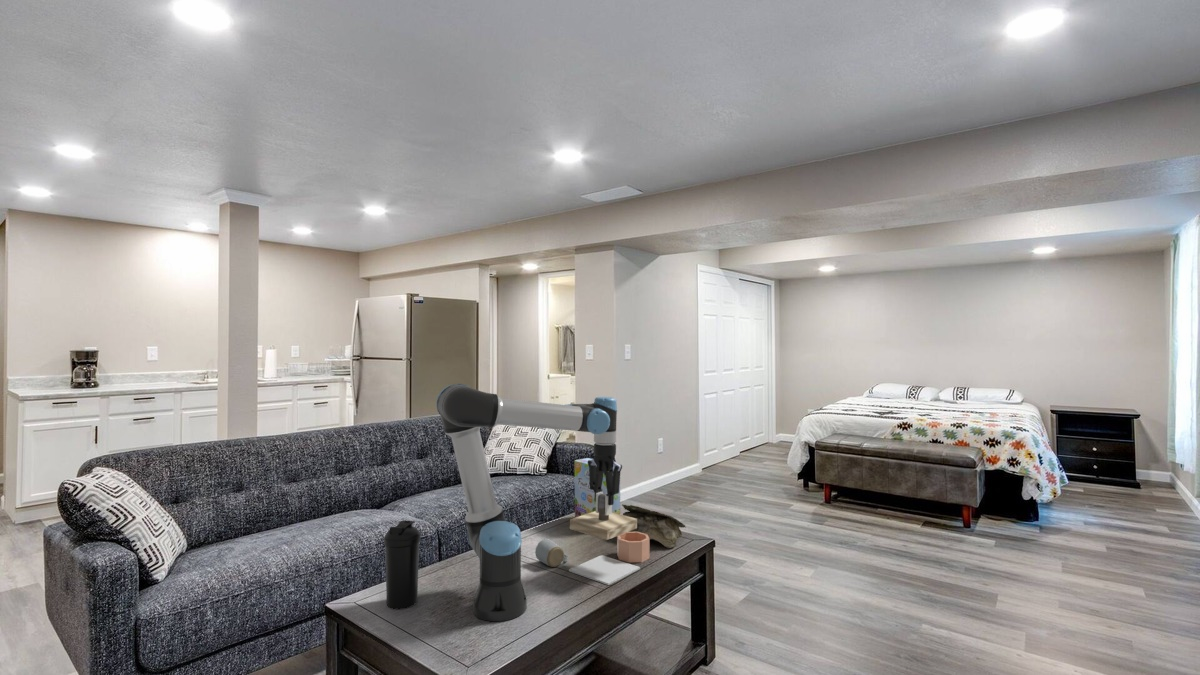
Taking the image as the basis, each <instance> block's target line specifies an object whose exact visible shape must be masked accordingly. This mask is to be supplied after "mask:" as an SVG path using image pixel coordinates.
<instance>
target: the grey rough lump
mask: <svg viewBox="0 0 1200 675" xmlns="http://www.w3.org/2000/svg"><path fill="white" fill-rule="evenodd" d="M621 506H622V507H623V509H624V510H626V511H625V512H623V513H622V515H624V516H628V517H632V518H636V519H637V528H636V529H634V530H631V531H629V532H641V533H644V534H647V535H648V537H649V539H650V540H654V541H656V542H659V543H660V544H661V545H663V546H664V547H666V548H668V549H670V548H674V547H675V546H676V543H677V541H678V539H680V538H681V537H682V535H683V534H682V530H681V528H683V529H684V528H685V529H686V528H687V526H686V525H685V524H684V523H682V522H681V521H680V520H678V519H677V518H675V517H673V516H671V515H668V514H665V513H661V512H658V511H654V510H649V509H647V508H643V507H640V506H637V505H631V504H630V505H627V504H621Z"/></svg>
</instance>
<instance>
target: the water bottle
mask: <svg viewBox="0 0 1200 675" xmlns="http://www.w3.org/2000/svg"><path fill="white" fill-rule="evenodd" d="M415 523H416V521H414V520H400V521H399V522H398V524H397V525H395V526H391V527H390V528H389V530H388V531H386V533H385V535H384V536H383V543H384V544H383V545H384V546H385V547H384V550H385V586H386V589H385V590H386V595H385V596H386V607H387V608H388V609H390V610H404V609H408V608H411V607H413V606H415V605H416V604H417V602H418V587H419V565H420V564H419V560H420V559H419V558H420V542H421V537H422V536H421V535H422V534H421V532H420V531H419V529H418V528H417V527H416V526H414V525H413V524H415Z"/></svg>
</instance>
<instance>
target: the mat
mask: <svg viewBox="0 0 1200 675" xmlns="http://www.w3.org/2000/svg"><path fill="white" fill-rule="evenodd" d="M639 570H641V567H640V566H639V565H638V566H637V565H635V564H631V563H629V562H625V561H622V560H619V559H615V558H612V557H609V556H605V555H603V554H601V555H599V556H597V557H596V556H595V557H594V558H591V559H590V560H587V561H585V562H583V563H581V564H578V565H575V566H574V567H573V566H572V567H571V568H570V569H568V572H570V573H573V574H576V575H579V576H581V577H584V578H587V579H589V580H592V581H596V582H598V583H601V584H604V585H606V586H609V585H612V584H614V583H616V582H618V581H619V580H621V579H623V578H625V577H627V576H630V575H631V574H633V573H634V572H637V571H639Z"/></svg>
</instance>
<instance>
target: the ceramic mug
mask: <svg viewBox="0 0 1200 675" xmlns="http://www.w3.org/2000/svg"><path fill="white" fill-rule="evenodd" d="M535 557H536V559H537V560H539V562H541V563H543V564H545V565H546V566H548V567H550V568H551V567H552V568H556V567H559V566H560V565H561V564H562V562H566V563H567V562H568V560H569V556H568V555H566V554H565V552H564V550H563V548H562V547H561V546H560V545H559V544H557V543H555V542H554V541H553V540H551V539H549V538H544V539H542V540H540V541H539V542H538V544H537V545H536V548H535Z"/></svg>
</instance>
